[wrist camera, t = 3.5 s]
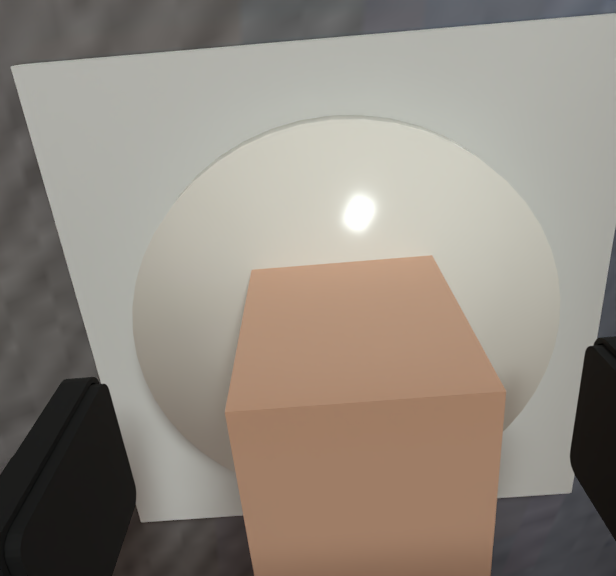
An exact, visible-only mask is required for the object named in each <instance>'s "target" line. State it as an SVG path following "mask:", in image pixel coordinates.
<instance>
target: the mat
mask: <svg viewBox="0 0 616 576" xmlns="http://www.w3.org/2000/svg"><path fill="white" fill-rule="evenodd" d="M11 70H12V73H13V77H14V80H15V84H16V87H17V91H18V94H19V98H20V101H21V105H22V108H23V112H24V115H25V119H26V122H27V126H28V129H29V133H30V136H31V140H32V143H33V147H34V150H35V154H36V157H37V161H38V164H39V168H40V171H41V175H42V178H43V182H44V185H45V189H46V192H47V196H48V199H49V203H50V206H51V210H52V213H53V217H54V220H55V224H56V227H57V231H58V234H59V238H60V241H61V245H62V248H63V252H64V255H65V259H66V262H67V266H68V269H69V273H70V276H71V280H72V283H73V287H74V290H75V294H76V297H77V300H78V304H79V307H80V311H81V314H82V318H83V321H84V325H85V328H86V332H87V335H88V339H89V342H90V346H91V349H92V353H93V356H94V360H95V363H96V367H97V370H98V374H99V377H100V381H101V384H106V385H107V386H108V388H109V391H110V395H111V398H112V402H113V405H114V409H115V413H116V416H117V420H118V424H119V427H120V431H121V435H122V438H123V442H124V446H125V449H126V453H127V456H128V460H129V464H130V467H131V471H132V475H133V478H134V482H135V486H136V507H137V510H138V514H139V517H140V521H141V522H154V521H168V520H183V519H198V518H213V517H227V516H242V515H243V511H242V505H241V500H240V494H239V489H238V483H237V478H236V473H235V472H233V471H231V470H229V469H227V468H226V467H224V466H222V465H220V464H218V463H217V462H216V461H214V460H213V459H211V458H210V457H208V456H207V455H205V454H204V453H202V452H201V451H200V450H199V449H197V448H196V447H195V446H194V445H193V444H192V443H191V442H189V441H188V440H187V439H186V438H185V437H184V436H183V435H182V434H181V433H180V432H179V431H178V430H177V428H176V427H175V426H174V425H173V424H172V423H171V422H170V421H169V419H168V418H167V417H166V415H165V414H164V412H163V411H162V409H161V408H160V406H159V405H158V404H157V402H156V401H155V399H154V397H153V395H152V393H151V391H150V389H149V387H148V385H147V383H146V381H145V379H144V376H143V373H142V370H141V367H140V364H139V361H138V358H137V353H136V348H135V342H134V336H133V317H132V306H133V299H134V291H135V283H136V280H137V276H138V273H139V269H140V266H141V262H142V259H143V256H144V254H145V252H146V250H147V248H148V246H149V243H150V241H151V239H152V237H153V235H154V233H155V231H156V230H157V228H158V227H159V225H160V224H161V222H162V221H163V219H164V218H165V216H166V215H167V213H168V212H169V210H170V209H171V207H172V206H173V204H174V202H175V201H176V199H177V198H178V196H179V195H180V194H181V193H182V192H183V191H184V190H185V188H186V187H187V186H188V185H189V184H190V183H191V182H192V181H193V179H194V178H195V177H196V176H197V175H198V174H199V173H200V172H202V171H203V170H204V169H205V168H206V167H208V166H209V165H210V164H211V163H212V162H214V161H215V160H216V159H217V158H218V157H220V156H221V155H223V154H224V153H226V152H228V151H229V150H231V149H232V148H234V147H236V146H237V145H239V144H240V143H242V142H243V141H246V140H248V139H250V138H252V137H254V136H257V135H259V134H261V133H263V132H265V131H268V130H270V129H273V128H276V127H279V126H283V125H286V124H289V123H293V122H296V121H300V120H305V119H312V118H318V117H325V116H336V115H365V116H374V117H382V118H391V119H395V120H399V121H402V122H406V123H410V124H414V125H418V126H421V127H423V128H426V129H428V130H431V131H433V132H435V133H438V134H440V135H443V136H445V137H447V138H449V139H451V140H452V141H454V142H456V143H457V144H459V145H461V146H462V147H464V148H466V149H467V150H469V151H471V152H472V153H473V154H474V155H476V156H477V157H478V158H479V159H481V160H482V161H483V162H484V163H486V164H487V165H488V166H489V167H490V168H492V169H493V170H494V171H495V172H496V173H498V174H499V175H500V176H501V177H503V178H504V179H505V180H506V181H507V182H508V183H509V184H510V185H511V186H512V187H513V188H514V189H515V191H516V192H517V193H518V194H519V195H520V196H521V197H522V198H523V200H524V201H525V202H526V203H527V205H528V206H529V208H530V209H531V211H532V212H533V214H534V215H535V217H536V219H537V220H538V222H539V223H540V225H541V227H542V229H543V231H544V234H545V236H546V238H547V240H548V243H549V245H550V247H551V250H552V253H553V257H554V261H555V265H556V269H557V272H558V279H559V289H560V319H559V327H558V332H557V337H556V342H555V347H554V350H553V353H552V356H551V359H550V361H549V364H548V367H547V370H546V372H545V374H544V376H543V378H542V380H541V382H540V384H539V385H538V387H537V389H536V391H535V393H534V394H533V396H532V397H531V399H530V400H529V402H528V403H527V404H526V406H525V407H524V409H523V410H522V412H521V413H520V414H519V415H518V416H517V417H516V418H515V420H514V421H513V422H512V423H511V424H510V425H509V426H508V427H507V429H506V430H504V431H503V435H502V447H501V458H500V470H499V482H498V493H497V498H506V497H521V496H536V495H550V494H565V493H571V492H572V486H573V480H574V472H573V470H572V467H571V463H570V449H571V442H572V435H573V429H574V422H575V416H576V409H577V402H578V396H579V389H580V382H581V376H582V369H583V362H584V356H585V351H586V349H587V347H589V346H593V345H594V342H595V341H596V339H597V335H598V329H599V323H600V317H601V311H602V305H603V299H604V293H605V287H606V281H607V274H608V268H609V262H610V256H611V250H612V244H613V238H614V232H615V226H616V13H612V14H600V15H588V16H577V17H565V18H554V19H542V20H530V21H519V22H507V23H496V24H484V25H472V26H461V27H449V28H438V29H426V30H414V31H403V32H391V33H380V34H368V35H356V36H345V37H333V38H322V39H310V40H298V41H287V42H275V43H264V44H252V45H240V46H229V47H217V48H206V49H194V50H182V51H171V52H159V53H148V54H136V55H124V56H113V57H101V58H90V59H78V60H66V61H55V62H43V63H32V64H22V65H16V66H11Z"/></svg>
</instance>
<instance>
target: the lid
mask: <svg viewBox="0 0 616 576" xmlns="http://www.w3.org/2000/svg"><path fill="white" fill-rule="evenodd" d="M132 317H133V336H134V342H135V348H136V353H137V358H138V361H139V364H140V367H141V370H142V373H143V376H144V379H145V381H146V383H147V385H148V387H149V389H150V391H151V393H152V395H153V397H154V399H155V401H156V402H157V404H158V405H159V406H160V408H161V409H162V411H163V412H164V414H165V415H166V417H167V418H168V419H169V421H170V422H171V423H172V424H173V425H174V426H175V427H176V428H177V430H178V431H179V432H180V433H181V434H182V435H183V436H184V437H185V438H186V439H187V440H188V441H189V442H191V443H192V444H193V445H194V446H195V447H196V448H197V449H199V450H200V451H201V452H202V453H204V454H205V455H207V456H208V457H210V458H211V459H213V460H214V461H216V462H217V463H218V464H220V465H222V466H224V467H226V468H227V469H229V470H231V471H233V472H235V473H236V478H237V483H238V489H239V494H240V500H241V505H242V511H243V516H244V522H245V527H246V533H247V538H248V544H249V549H250V555H251V560H252V566H253V571H254V576H490V575H491V563H492V551H493V540H494V528H495V516H496V505H497V493H498V482H499V470H500V458H501V447H502V435H503V431H504V430H506V429H507V427H508V426H509V425H510V424H511V423H512V422H513V421H514V420H515V418H516V417H517V416H518V415H519V414H520V413H521V412H522V410H523V409H524V407H525V406H526V404H527V403H528V402H529V400H530V399H531V397H532V396H533V394H534V393H535V391H536V389H537V387H538V385H539V384H540V382H541V380H542V378H543V376H544V374H545V372H546V370H547V367H548V364H549V361H550V359H551V356H552V353H553V350H554V347H555V342H556V337H557V332H558V327H559V319H560V289H559V279H558V272H557V269H556V265H555V261H554V257H553V253H552V250H551V247H550V245H549V243H548V240H547V238H546V236H545V234H544V231H543V229H542V227H541V225H540V223H539V222H538V220H537V219H536V217H535V215H534V214H533V212H532V211H531V209H530V208H529V206H528V205H527V203H526V202H525V201H524V200H523V198H522V197H521V196H520V195H519V194H518V193H517V192H516V191H515V189H514V188H513V187H512V186H511V185H510V184H509V183H508V182H507V181H506V180H505V179H504V178H503V177H501V176H500V175H499V174H498V173H496V172H495V171H494V170H493V169H492V168H490V167H489V166H488V165H487V164H486V163H484V162H483V161H482V160H481V159H479V158H478V157H477V156H476V155H474V154H473V153H472V152H471V151H469V150H467V149H466V148H464V147H462V146H461V145H459V144H457V143H456V142H454V141H452V140H451V139H449V138H447V137H445V136H443V135H440V134H438V133H435V132H433V131H431V130H428V129H426V128H423V127H421V126H418V125H414V124H410V123H406V122H402V121H399V120H395V119H391V118H382V117H374V116H365V115H336V116H325V117H318V118H312V119H305V120H300V121H296V122H293V123H289V124H286V125H283V126H279V127H276V128H273V129H270V130H268V131H265V132H263V133H261V134H259V135H257V136H254V137H252V138H250V139H248V140H246V141H243V142H242V143H240V144H239V145H237V146H236V147H234V148H232V149H231V150H229V151H228V152H226V153H224V154H223V155H221V156H220V157H218V158H217V159H216V160H215V161H214V162H212V163H211V164H210V165H209V166H208V167H206V168H205V169H204V170H203V171H202V172H200V173H199V174H198V175H197V176H196V177H195V178H194V179H193V181H192V182H191V183H190V184H189V185H188V186H187V187H186V188H185V190H184V191H183V192H182V193H181V194H180V195H179V196H178V198H177V199H176V201H175V202H174V204H173V206H172V207H171V209H170V210H169V212H168V213H167V215H166V216H165V218H164V219H163V221H162V222H161V224H160V225H159V227H158V228H157V230H156V231H155V233H154V235H153V237H152V239H151V241H150V243H149V246H148V248H147V250H146V252H145V254H144V256H143V259H142V262H141V266H140V269H139V273H138V276H137V280H136V283H135V291H134V299H133V306H132Z"/></svg>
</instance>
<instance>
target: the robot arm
mask: <svg viewBox="0 0 616 576" xmlns="http://www.w3.org/2000/svg"><path fill="white" fill-rule="evenodd" d="M570 463H571V467H572V470H573V472H574V474H575V476H576V477H577V479H578V481H579V482H580V484H581V485H582V487H583V489H584V490H585V492H586V494H587V495H588V497H589V498H590V500H591V502H592V503H593V505H594V507H595V508H596V510H597V511H598V513H599V515H600V516H601V518H602V520H603V521H604V523H605V524H606V526H607V528H608V529H609V531H610V533H611V534H612V536H613V537H614V539H615V541H616V337H603V338H598V339H596V341H595V342H594V345H593V346H589V347H587V349H586V351H585V356H584V362H583V369H582V376H581V382H580V389H579V396H578V402H577V409H576V416H575V422H574V429H573V435H572V442H571V449H570ZM135 504H136V486H135V482H134V478H133V475H132V471H131V467H130V464H129V460H128V456H127V453H126V449H125V446H124V442H123V438H122V435H121V431H120V427H119V424H118V420H117V416H116V413H115V409H114V405H113V402H112V398H111V395H110V391H109V388H108V386H107V385H106V384H99V381H98V380H97V378H95V377H88V378H75V379H66V380H63V382H62V383H61V384H60V385H59V387H58V389H57V390H56V392H55V393H54V395H53V396H52V398H51V399H50V401H49V402H48V404H47V405H46V407H45V409H44V410H43V412H42V413H41V415H40V416H39V418H38V419H37V421H36V422H35V424H34V426H33V427H32V429H31V430H30V432H29V433H28V435H27V436H26V438H25V439H24V441H23V442H22V444H21V446H20V447H19V449H18V450H17V452H16V453H15V455H14V456H13V457H12V458H11V459H10V461H9V463H8V464H7V466H6V467H5V469H4V470H3V472H2V473H1V475H0V576H112V574H113V571H114V568H115V565H116V562H117V559H118V556H119V553H120V550H121V547H122V544H123V541H124V538H125V535H126V532H127V529H128V526H129V523H130V520H131V517H132V513H133V510H134V507H135Z"/></svg>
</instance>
